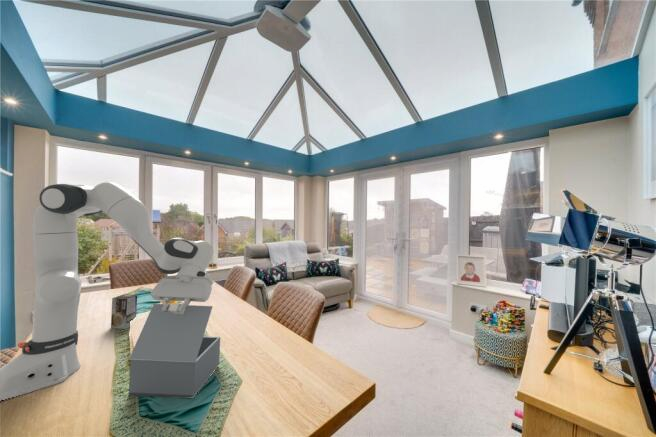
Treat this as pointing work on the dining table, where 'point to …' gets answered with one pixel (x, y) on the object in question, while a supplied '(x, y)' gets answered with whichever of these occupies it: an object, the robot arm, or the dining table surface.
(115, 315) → the coffee box
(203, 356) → the carton
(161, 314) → the grey box lid
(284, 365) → the dining table surface
